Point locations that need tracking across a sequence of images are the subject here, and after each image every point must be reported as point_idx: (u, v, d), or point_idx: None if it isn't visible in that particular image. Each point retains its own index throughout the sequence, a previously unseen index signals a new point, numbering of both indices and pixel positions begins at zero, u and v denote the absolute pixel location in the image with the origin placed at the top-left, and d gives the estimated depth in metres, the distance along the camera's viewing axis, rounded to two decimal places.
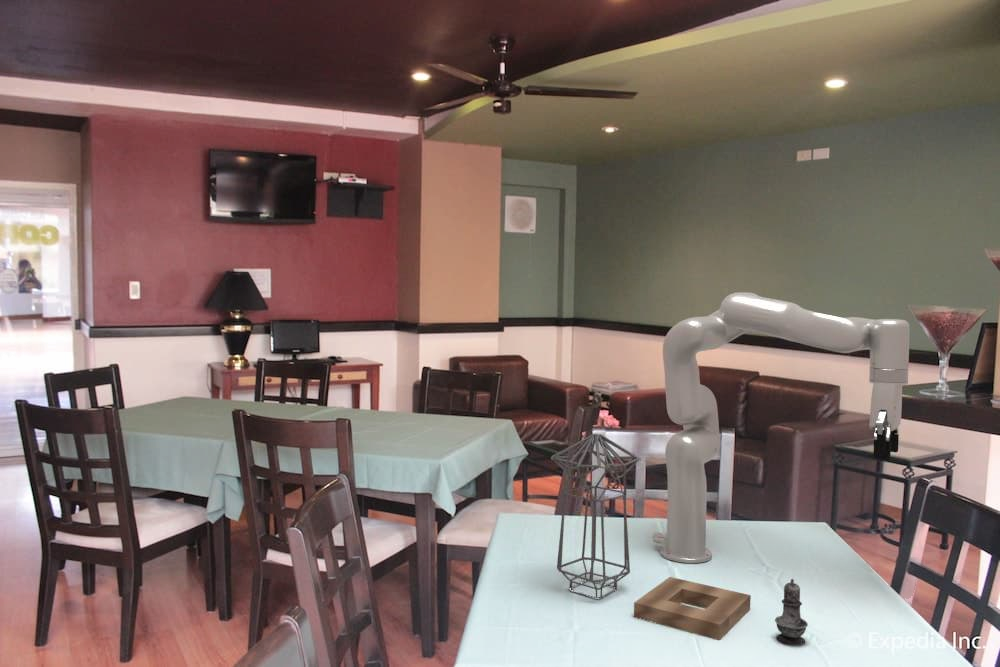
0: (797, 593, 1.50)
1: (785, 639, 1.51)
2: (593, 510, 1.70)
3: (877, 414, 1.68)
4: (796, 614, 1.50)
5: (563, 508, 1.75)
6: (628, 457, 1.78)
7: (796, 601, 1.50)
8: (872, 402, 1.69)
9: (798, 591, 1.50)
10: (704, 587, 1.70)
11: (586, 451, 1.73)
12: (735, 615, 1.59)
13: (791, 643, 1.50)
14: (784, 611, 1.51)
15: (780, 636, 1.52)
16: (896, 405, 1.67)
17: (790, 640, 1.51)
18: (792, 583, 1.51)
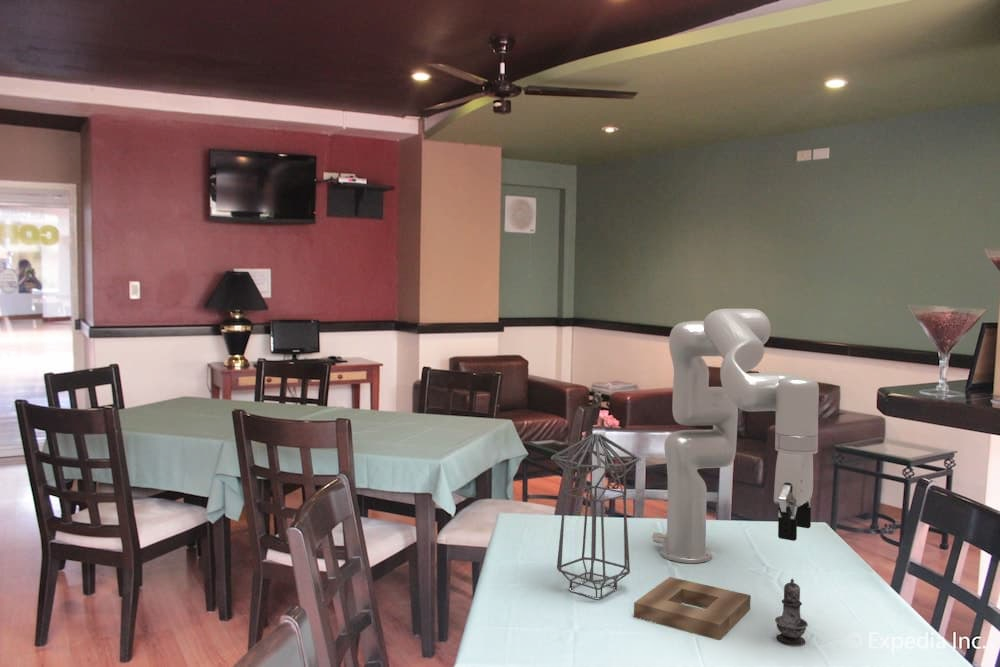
0: (797, 593, 1.50)
1: (785, 639, 1.51)
2: (593, 510, 1.70)
3: (781, 487, 1.46)
4: (796, 614, 1.50)
5: (563, 508, 1.75)
6: (628, 457, 1.78)
7: (796, 601, 1.50)
8: (776, 473, 1.47)
9: (798, 591, 1.50)
10: (704, 587, 1.70)
11: (586, 451, 1.73)
12: (735, 615, 1.59)
13: (791, 643, 1.50)
14: (784, 611, 1.51)
15: (780, 636, 1.52)
16: (803, 477, 1.46)
17: (790, 640, 1.51)
18: (792, 583, 1.51)
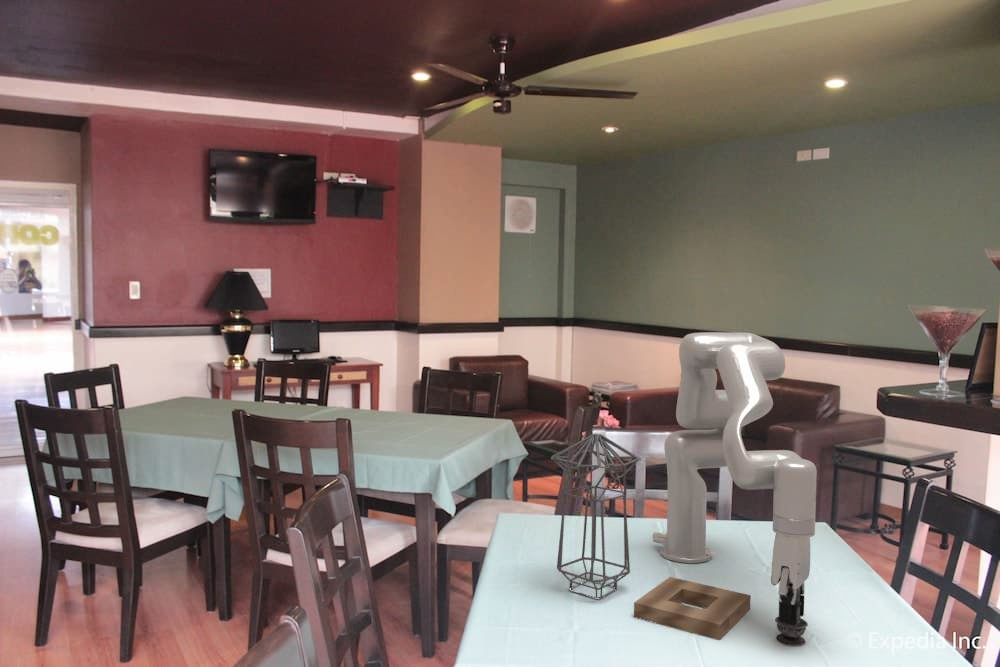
0: (797, 593, 1.50)
1: (785, 639, 1.51)
2: (593, 510, 1.70)
3: (779, 570, 1.48)
4: None
5: (563, 508, 1.75)
6: (628, 457, 1.78)
7: (796, 601, 1.50)
8: (774, 556, 1.48)
9: (798, 591, 1.50)
10: (704, 587, 1.70)
11: (586, 451, 1.73)
12: (735, 615, 1.59)
13: (791, 643, 1.50)
14: None
15: (780, 636, 1.52)
16: (800, 561, 1.47)
17: (790, 640, 1.51)
18: None
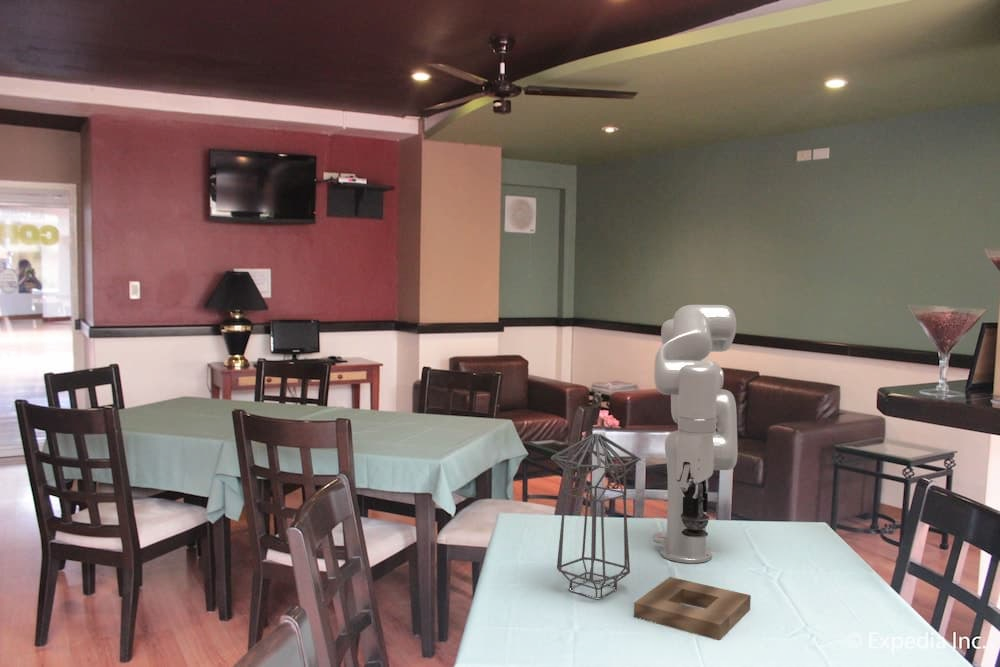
0: (700, 489, 1.62)
1: (689, 532, 1.63)
2: (593, 510, 1.70)
3: (681, 466, 1.59)
4: None
5: (563, 508, 1.75)
6: (628, 457, 1.78)
7: (698, 496, 1.62)
8: (677, 453, 1.60)
9: (701, 487, 1.62)
10: (704, 587, 1.70)
11: (586, 451, 1.73)
12: (735, 615, 1.59)
13: (693, 535, 1.61)
14: None
15: (685, 530, 1.64)
16: (700, 457, 1.58)
17: (693, 533, 1.62)
18: None
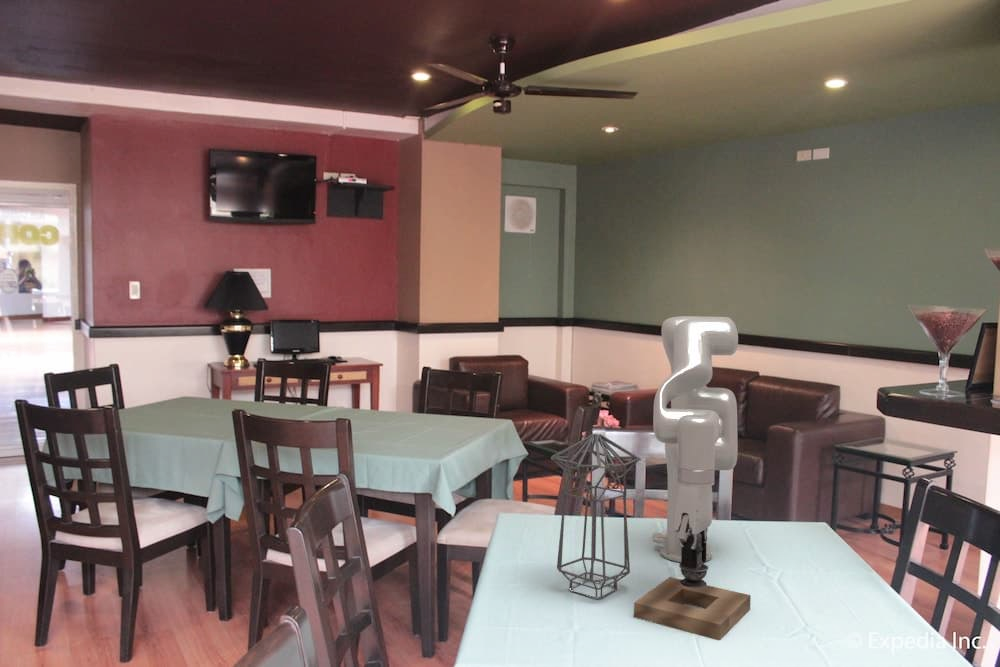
0: (698, 539, 1.62)
1: (688, 582, 1.63)
2: (593, 510, 1.70)
3: (680, 517, 1.60)
4: (697, 559, 1.62)
5: (563, 508, 1.75)
6: (628, 457, 1.78)
7: (697, 547, 1.62)
8: (675, 504, 1.60)
9: (699, 537, 1.62)
10: (704, 587, 1.70)
11: (586, 451, 1.73)
12: (735, 615, 1.59)
13: (692, 585, 1.62)
14: None
15: (684, 580, 1.64)
16: (699, 508, 1.59)
17: (692, 583, 1.62)
18: None
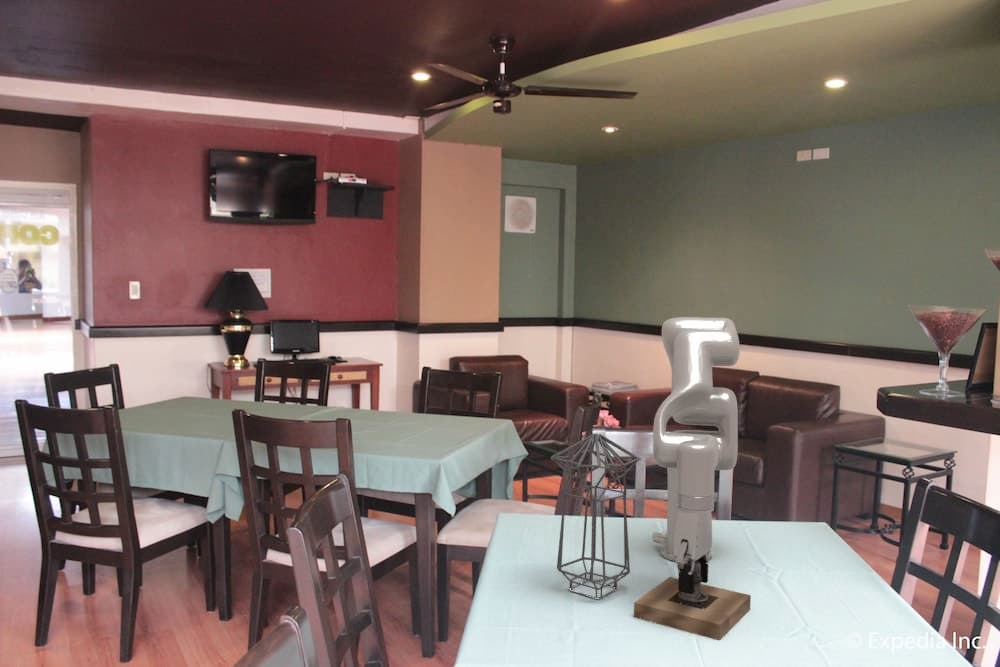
0: (698, 569, 1.63)
1: None
2: (593, 510, 1.70)
3: (679, 543, 1.60)
4: (696, 589, 1.63)
5: (563, 508, 1.75)
6: (628, 457, 1.78)
7: (696, 577, 1.63)
8: (675, 530, 1.61)
9: (698, 567, 1.63)
10: (704, 587, 1.70)
11: (586, 451, 1.73)
12: (735, 615, 1.59)
13: None
14: None
15: None
16: (698, 534, 1.59)
17: None
18: None
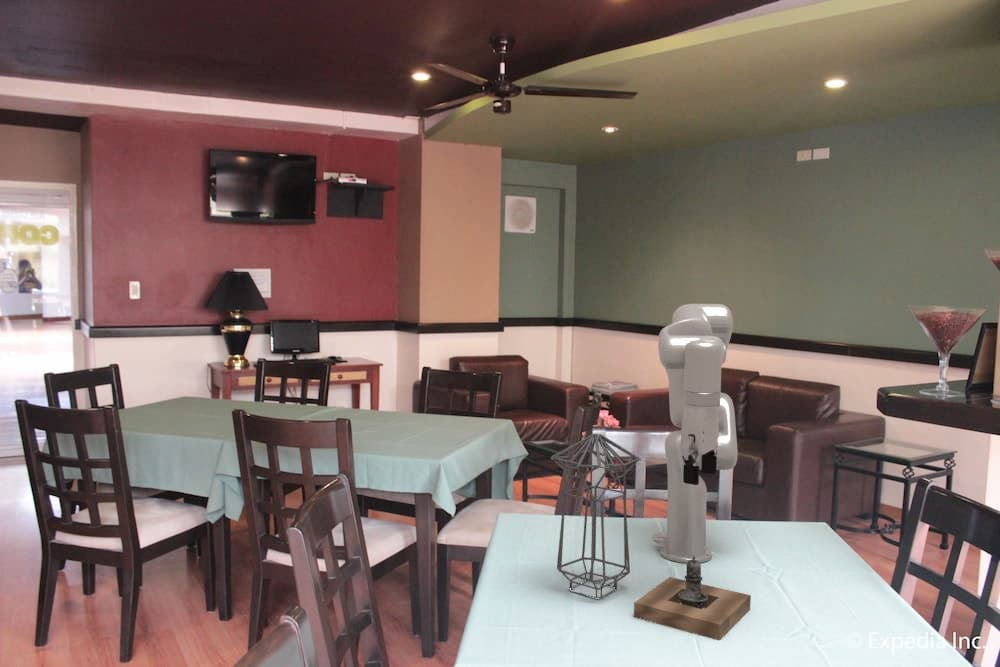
0: (698, 569, 1.63)
1: None
2: (593, 510, 1.70)
3: (686, 438, 1.65)
4: (696, 589, 1.63)
5: (563, 508, 1.75)
6: (628, 457, 1.78)
7: (696, 577, 1.63)
8: (682, 426, 1.65)
9: (698, 567, 1.63)
10: (704, 587, 1.70)
11: (586, 451, 1.73)
12: (735, 615, 1.59)
13: None
14: (686, 586, 1.64)
15: None
16: (705, 429, 1.64)
17: None
18: (693, 560, 1.64)
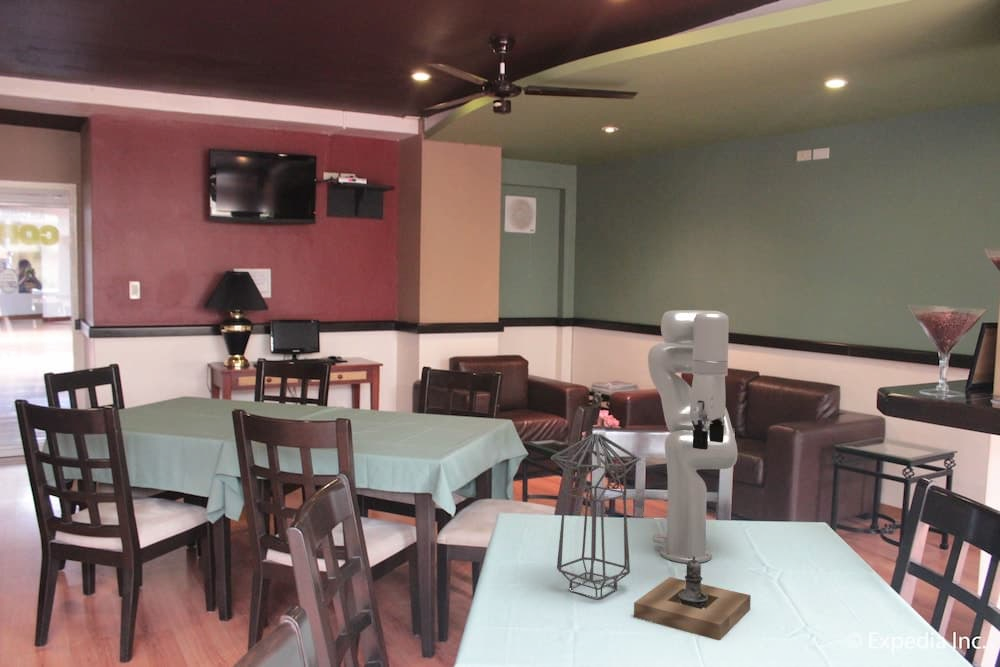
0: (698, 569, 1.63)
1: None
2: (593, 510, 1.70)
3: (695, 405, 1.72)
4: (696, 589, 1.63)
5: (563, 508, 1.75)
6: (628, 457, 1.78)
7: (696, 577, 1.63)
8: (691, 393, 1.73)
9: (698, 567, 1.63)
10: (704, 587, 1.70)
11: (586, 451, 1.73)
12: (735, 615, 1.59)
13: None
14: (686, 586, 1.64)
15: None
16: (713, 396, 1.72)
17: None
18: (693, 560, 1.64)
